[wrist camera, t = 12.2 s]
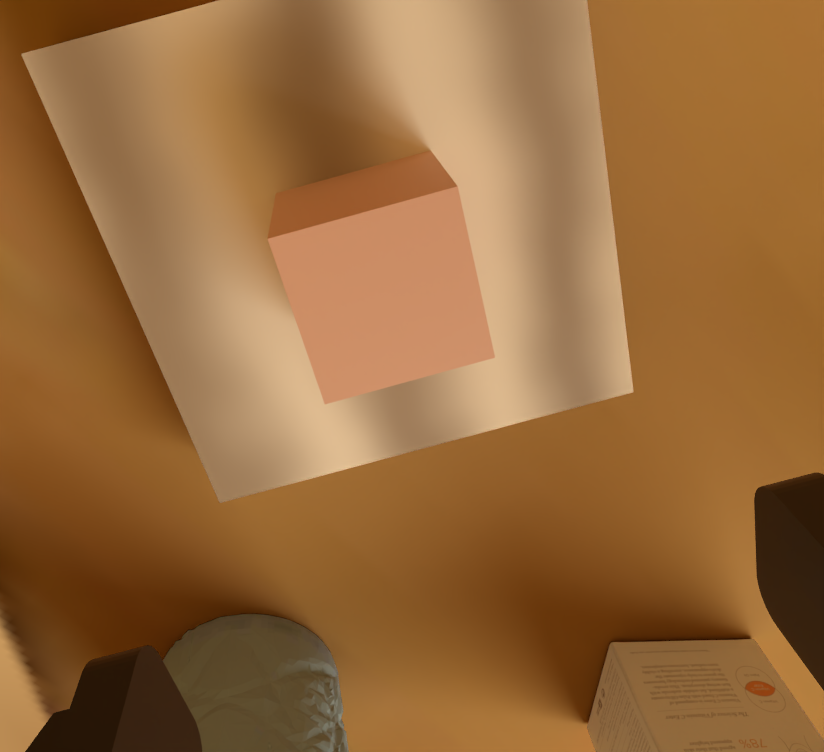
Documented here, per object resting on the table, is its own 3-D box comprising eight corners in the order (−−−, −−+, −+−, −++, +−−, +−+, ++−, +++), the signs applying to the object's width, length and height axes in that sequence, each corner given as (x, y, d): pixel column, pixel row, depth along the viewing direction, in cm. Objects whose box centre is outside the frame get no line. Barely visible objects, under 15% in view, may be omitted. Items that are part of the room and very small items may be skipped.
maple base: (546, -87, 24) (575, -97, 21) (606, 358, 31) (633, 392, 29) (53, 47, 24) (20, 53, 21) (227, 459, 31) (219, 502, 29)
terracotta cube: (430, 150, 24) (457, 186, 19) (464, 295, 26) (495, 357, 22) (275, 193, 24) (267, 239, 19) (322, 334, 26) (324, 404, 22)
